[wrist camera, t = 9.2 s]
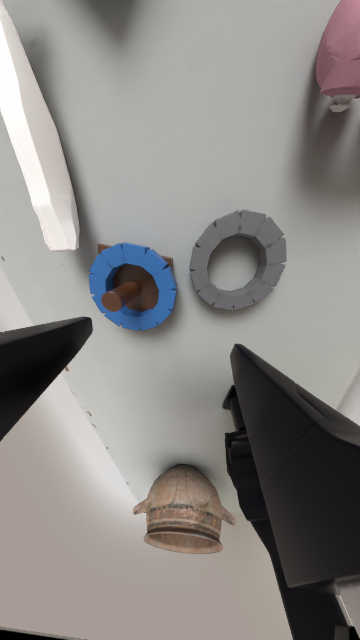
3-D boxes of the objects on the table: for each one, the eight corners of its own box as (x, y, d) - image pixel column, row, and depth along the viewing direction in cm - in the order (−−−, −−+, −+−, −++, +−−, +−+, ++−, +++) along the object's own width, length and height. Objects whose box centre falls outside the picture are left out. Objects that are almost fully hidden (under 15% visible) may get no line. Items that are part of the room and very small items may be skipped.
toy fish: (64, 252, 19) (35, 252, 15) (-28, -4, 11) (-130, -122, 8) (104, 249, 18) (83, 249, 15) (36, -19, 11) (-40, -153, 7)
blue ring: (170, 329, 22) (168, 336, 20) (101, 316, 21) (92, 322, 20) (183, 254, 17) (182, 254, 15) (95, 236, 17) (84, 234, 15)
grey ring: (255, 310, 21) (261, 316, 19) (183, 296, 20) (182, 301, 19) (293, 225, 16) (306, 222, 14) (201, 206, 16) (202, 201, 14)
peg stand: (163, 320, 22) (153, 348, 16) (105, 309, 22) (71, 333, 16) (172, 258, 18) (163, 261, 12) (102, 244, 18) (55, 240, 12)
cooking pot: (146, 479, 48) (132, 547, 37) (139, 449, 40) (120, 525, 29) (222, 486, 46) (233, 559, 35) (232, 457, 38) (249, 540, 27)
